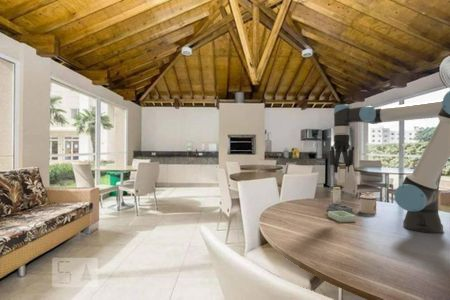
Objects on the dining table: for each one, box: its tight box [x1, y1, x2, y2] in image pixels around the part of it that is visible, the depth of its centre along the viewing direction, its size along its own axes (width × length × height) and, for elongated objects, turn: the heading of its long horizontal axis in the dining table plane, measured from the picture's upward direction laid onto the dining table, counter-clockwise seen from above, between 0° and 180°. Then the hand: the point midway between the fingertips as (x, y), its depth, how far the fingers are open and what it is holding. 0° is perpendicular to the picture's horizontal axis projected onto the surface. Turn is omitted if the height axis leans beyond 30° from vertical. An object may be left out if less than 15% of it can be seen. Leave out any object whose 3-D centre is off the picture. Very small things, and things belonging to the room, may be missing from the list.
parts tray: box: [327, 210, 357, 223], centre depth 143 cm, size 11×9×3 cm
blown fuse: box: [336, 161, 347, 186], centre depth 143 cm, size 4×4×12 cm
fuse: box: [332, 186, 341, 205], centre depth 162 cm, size 4×4×12 cm
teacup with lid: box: [359, 191, 377, 215], centre depth 160 cm, size 12×9×12 cm
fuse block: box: [326, 202, 355, 215], centre depth 158 cm, size 14×8×4 cm, turn 9°
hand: (341, 178), depth 143 cm, fingers closed on blown fuse, 4 cm apart
